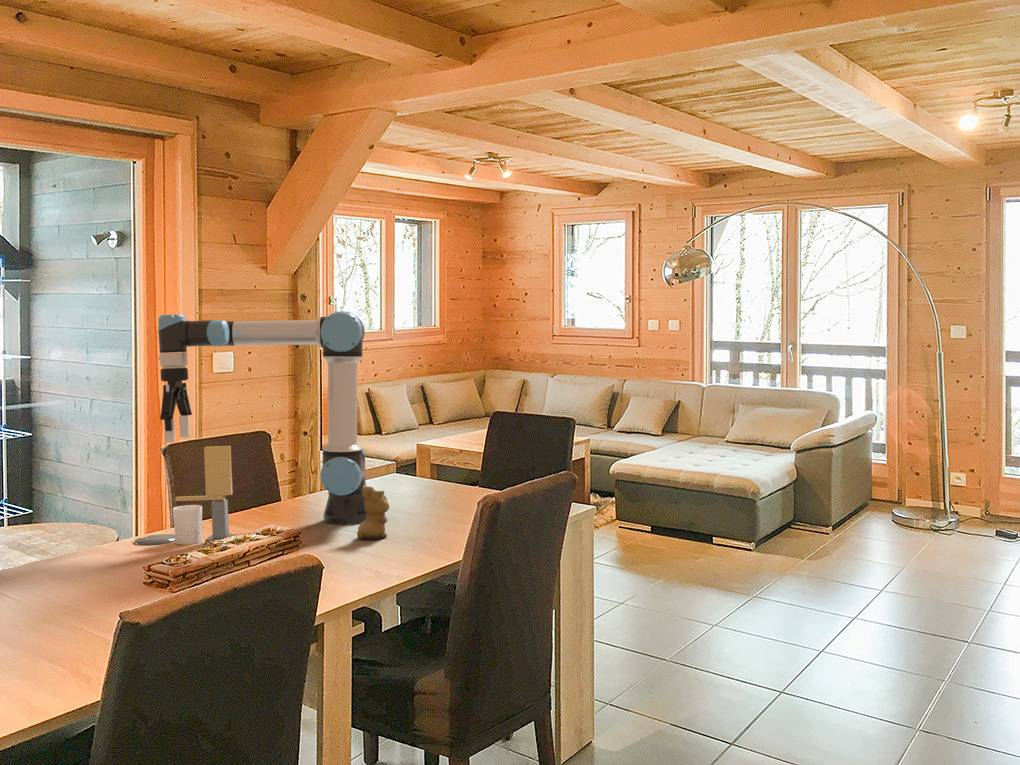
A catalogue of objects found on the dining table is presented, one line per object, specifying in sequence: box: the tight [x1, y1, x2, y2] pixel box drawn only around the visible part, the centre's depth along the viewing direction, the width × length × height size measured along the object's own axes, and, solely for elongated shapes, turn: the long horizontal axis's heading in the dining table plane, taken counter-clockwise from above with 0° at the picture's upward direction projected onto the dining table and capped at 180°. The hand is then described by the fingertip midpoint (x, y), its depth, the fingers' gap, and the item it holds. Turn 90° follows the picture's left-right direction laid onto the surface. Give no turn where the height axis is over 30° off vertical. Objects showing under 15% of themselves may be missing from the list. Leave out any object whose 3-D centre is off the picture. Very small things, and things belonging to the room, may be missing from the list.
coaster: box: [134, 533, 176, 546], centre depth 263 cm, size 12×12×1 cm
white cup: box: [172, 504, 203, 546], centre depth 260 cm, size 8×8×10 cm
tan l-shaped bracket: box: [174, 445, 233, 502], centre depth 260 cm, size 16×3×15 cm, turn 93°
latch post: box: [204, 499, 237, 544], centre depth 260 cm, size 7×7×12 cm
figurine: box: [356, 484, 390, 541], centre depth 259 cm, size 10×8×15 cm
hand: (177, 439), depth 269 cm, fingers open, 13 cm apart
